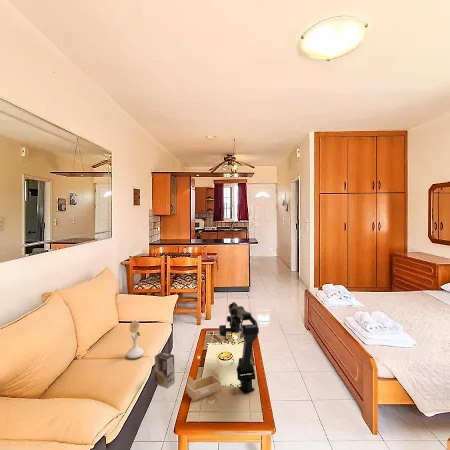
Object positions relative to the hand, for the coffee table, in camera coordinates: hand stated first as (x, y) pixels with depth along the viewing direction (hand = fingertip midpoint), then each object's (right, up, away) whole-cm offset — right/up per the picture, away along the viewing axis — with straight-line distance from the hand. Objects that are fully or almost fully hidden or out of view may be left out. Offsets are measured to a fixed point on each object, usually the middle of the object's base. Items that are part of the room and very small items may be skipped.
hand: (232, 338), depth 190 cm
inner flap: (-10, -9, -28) cm, 31 cm away
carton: (-16, -17, -31) cm, 39 cm away
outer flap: (-22, -9, -35) cm, 43 cm away
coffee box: (-38, -17, -23) cm, 48 cm away
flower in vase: (-64, -15, +8) cm, 66 cm away
